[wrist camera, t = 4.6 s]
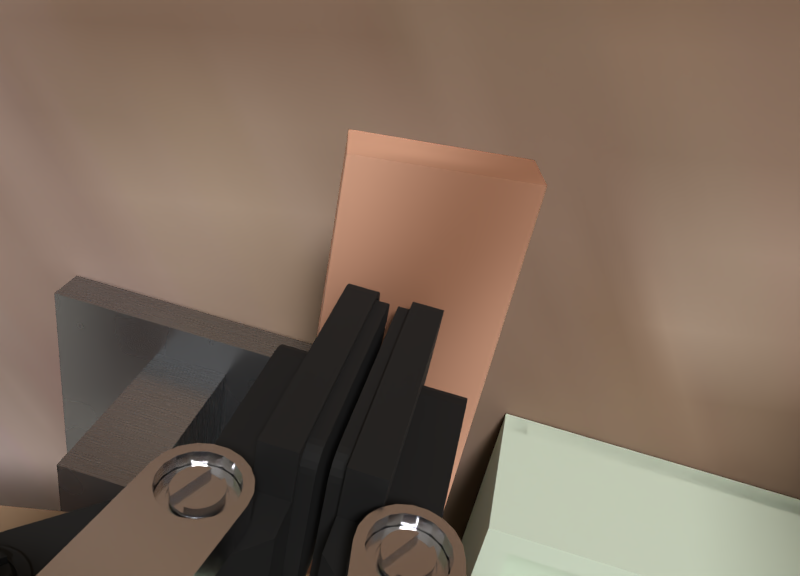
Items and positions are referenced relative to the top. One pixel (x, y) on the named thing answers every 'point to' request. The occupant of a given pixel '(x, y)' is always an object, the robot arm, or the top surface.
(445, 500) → the robot arm
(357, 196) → the chute
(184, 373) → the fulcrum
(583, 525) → the tray
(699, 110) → the top surface
